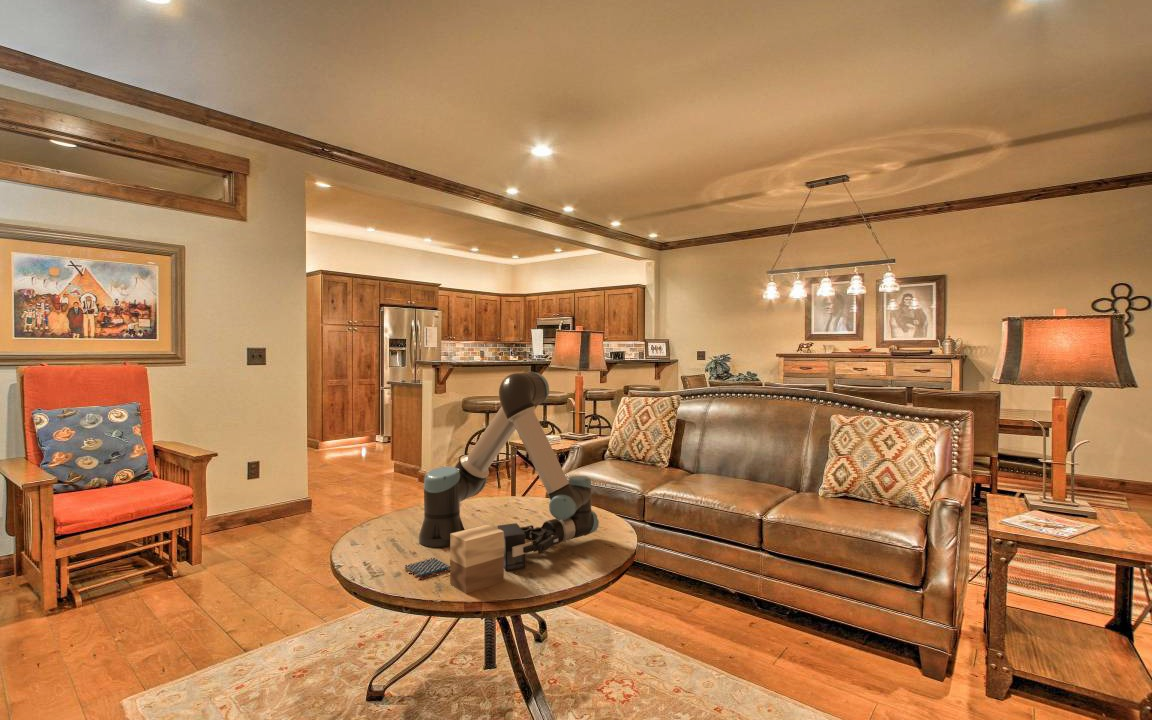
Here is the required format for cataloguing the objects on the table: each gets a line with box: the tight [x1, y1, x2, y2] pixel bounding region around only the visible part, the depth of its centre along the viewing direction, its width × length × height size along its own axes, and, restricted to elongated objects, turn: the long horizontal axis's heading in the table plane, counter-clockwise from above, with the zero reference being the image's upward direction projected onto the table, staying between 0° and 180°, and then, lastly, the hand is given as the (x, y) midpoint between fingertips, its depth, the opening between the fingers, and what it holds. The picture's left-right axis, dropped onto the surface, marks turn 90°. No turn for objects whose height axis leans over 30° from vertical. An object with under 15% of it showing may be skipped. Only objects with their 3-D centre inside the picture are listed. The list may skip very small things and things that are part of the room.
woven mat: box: [404, 557, 450, 581], centre depth 162 cm, size 10×11×2 cm
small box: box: [497, 522, 527, 572], centre depth 167 cm, size 11×6×10 cm, turn 21°
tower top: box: [449, 524, 504, 568], centre depth 153 cm, size 8×12×7 cm, turn 132°
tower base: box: [449, 557, 505, 595], centre depth 153 cm, size 8×12×7 cm, turn 132°
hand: (500, 546), depth 164 cm, fingers closed on small box, 11 cm apart
